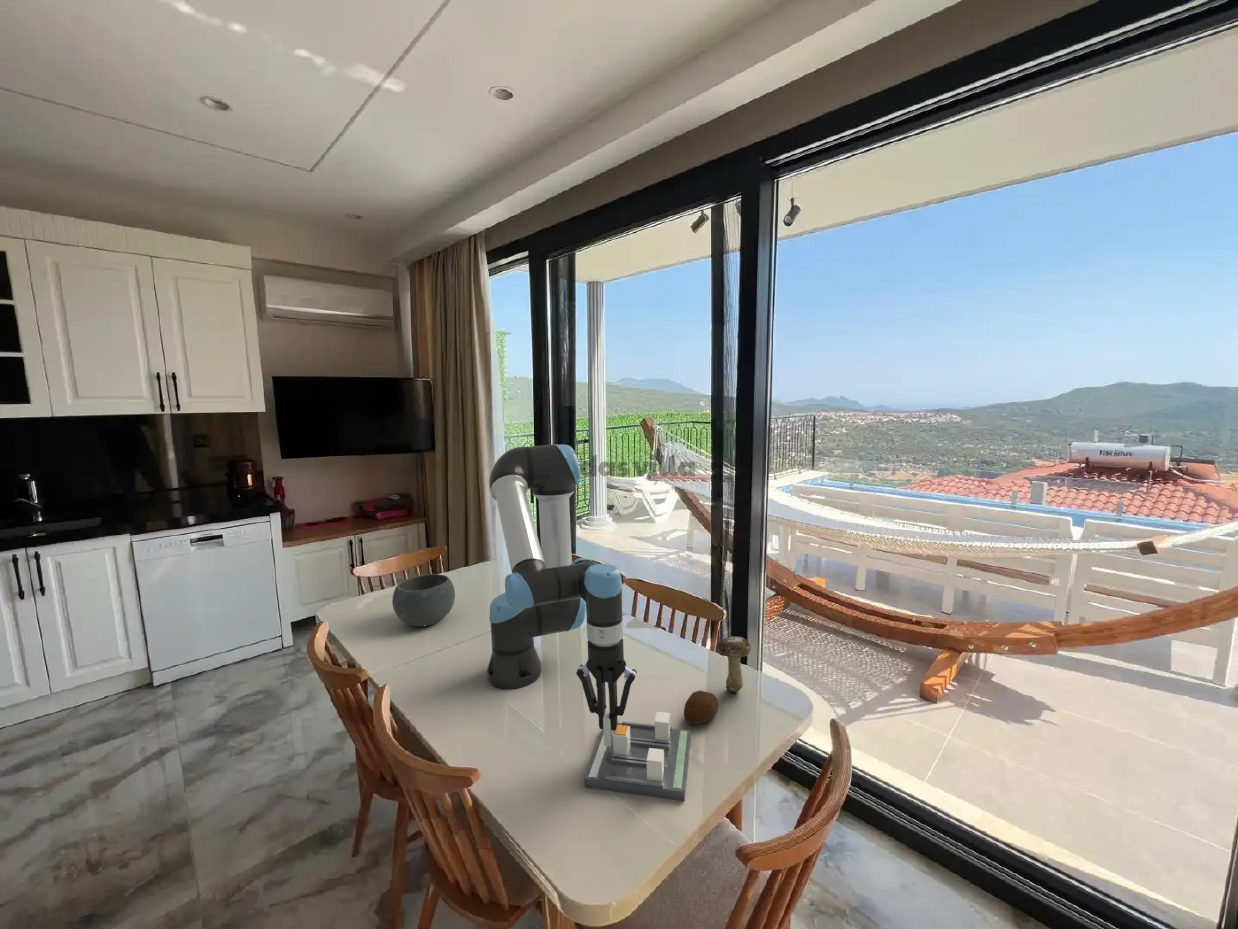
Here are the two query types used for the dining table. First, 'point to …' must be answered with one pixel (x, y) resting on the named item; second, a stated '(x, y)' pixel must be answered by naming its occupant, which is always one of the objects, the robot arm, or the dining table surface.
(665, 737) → the block
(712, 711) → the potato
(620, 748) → the block
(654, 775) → the breaker
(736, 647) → the mushroom
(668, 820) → the dining table surface
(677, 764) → the panel
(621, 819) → the dining table surface
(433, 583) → the bowl
